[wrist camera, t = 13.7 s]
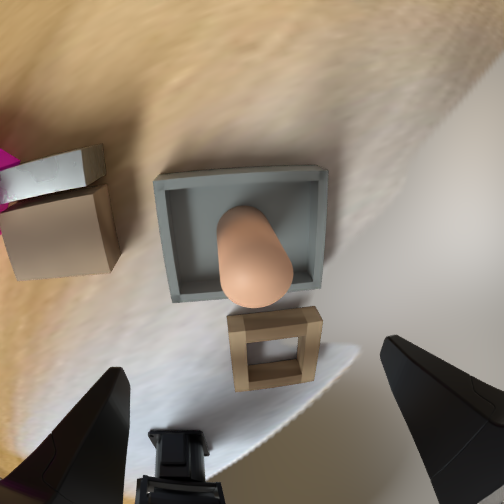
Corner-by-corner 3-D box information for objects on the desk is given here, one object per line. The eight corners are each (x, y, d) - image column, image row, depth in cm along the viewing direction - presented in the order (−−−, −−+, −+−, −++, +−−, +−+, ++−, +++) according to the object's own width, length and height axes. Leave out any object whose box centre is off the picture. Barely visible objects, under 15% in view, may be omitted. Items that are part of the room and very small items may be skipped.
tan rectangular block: (122, 252, 20) (110, 273, 17) (34, 262, 19) (17, 281, 16) (108, 183, 17) (92, 194, 15) (18, 201, 17) (-4, 214, 14)
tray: (311, 273, 22) (320, 288, 20) (174, 286, 21) (172, 302, 19) (316, 164, 19) (328, 170, 17) (158, 174, 17) (152, 181, 16)
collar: (307, 365, 26) (313, 380, 24) (233, 375, 25) (235, 392, 24) (315, 305, 23) (322, 320, 21) (226, 315, 22) (228, 332, 21)
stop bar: (106, 174, 17) (85, 186, 14) (24, 190, 16) (-3, 205, 13) (102, 143, 16) (80, 149, 13) (19, 163, 15) (-9, 174, 12)
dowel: (269, 252, 20) (291, 303, 15) (218, 257, 20) (223, 311, 14) (269, 203, 19) (294, 240, 13) (214, 207, 18) (217, 247, 13)
